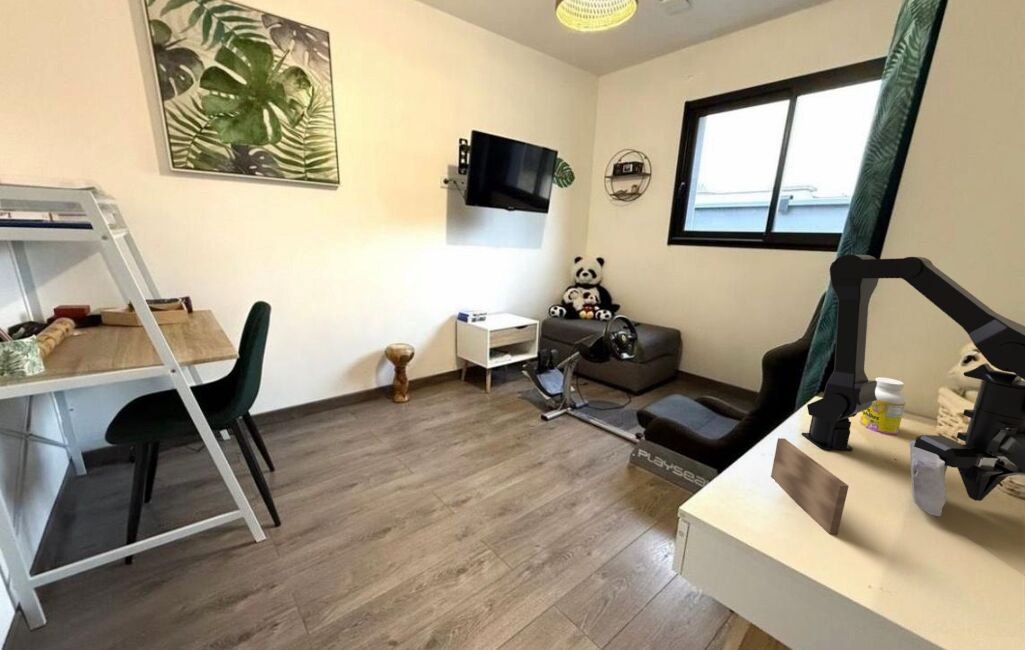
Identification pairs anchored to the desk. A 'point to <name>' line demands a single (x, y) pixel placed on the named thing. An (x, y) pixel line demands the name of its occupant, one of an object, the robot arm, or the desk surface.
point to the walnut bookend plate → (810, 485)
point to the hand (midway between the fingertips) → (974, 499)
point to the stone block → (928, 480)
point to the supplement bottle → (885, 407)
